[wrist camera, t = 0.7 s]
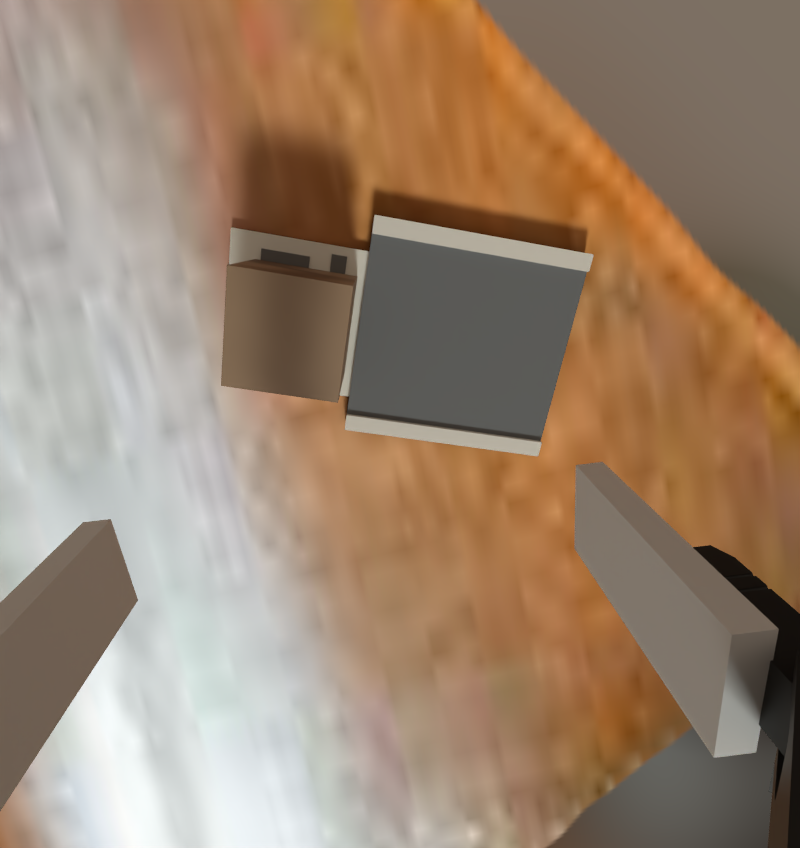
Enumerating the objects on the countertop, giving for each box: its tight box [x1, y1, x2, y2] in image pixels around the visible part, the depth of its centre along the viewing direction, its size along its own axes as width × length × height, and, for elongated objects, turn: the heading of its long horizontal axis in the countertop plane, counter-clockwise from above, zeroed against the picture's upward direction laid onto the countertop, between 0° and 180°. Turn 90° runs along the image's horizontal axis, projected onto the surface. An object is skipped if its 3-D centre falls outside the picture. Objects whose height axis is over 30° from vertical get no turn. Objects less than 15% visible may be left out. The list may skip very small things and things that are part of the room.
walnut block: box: [221, 259, 358, 403], centre depth 28 cm, size 6×6×6 cm
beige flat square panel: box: [229, 227, 370, 397], centre depth 31 cm, size 9×9×1 cm
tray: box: [345, 215, 593, 456], centre depth 32 cm, size 13×13×1 cm
